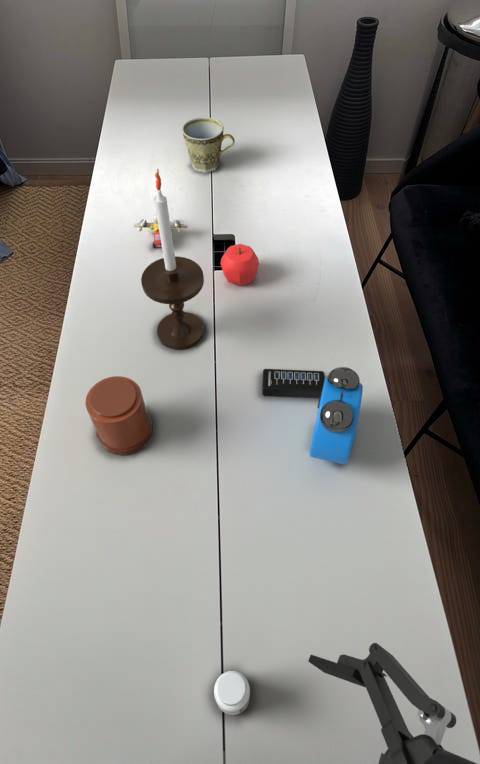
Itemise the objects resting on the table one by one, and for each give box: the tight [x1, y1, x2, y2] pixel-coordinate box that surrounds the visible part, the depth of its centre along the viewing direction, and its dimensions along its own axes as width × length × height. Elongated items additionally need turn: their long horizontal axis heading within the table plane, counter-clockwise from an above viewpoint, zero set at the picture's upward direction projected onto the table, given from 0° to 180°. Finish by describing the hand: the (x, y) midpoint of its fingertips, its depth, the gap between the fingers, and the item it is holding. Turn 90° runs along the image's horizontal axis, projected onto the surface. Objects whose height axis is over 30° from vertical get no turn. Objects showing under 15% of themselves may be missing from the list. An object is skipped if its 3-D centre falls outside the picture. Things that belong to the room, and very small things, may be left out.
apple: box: [220, 243, 260, 286], centre depth 112 cm, size 8×8×8 cm
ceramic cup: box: [181, 116, 236, 174], centre depth 135 cm, size 13×10×10 cm
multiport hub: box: [261, 368, 326, 399], centre depth 98 cm, size 4×11×2 cm, turn 86°
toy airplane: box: [133, 214, 188, 249], centre depth 121 cm, size 9×9×6 cm
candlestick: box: [140, 168, 205, 351], centre depth 93 cm, size 11×11×35 cm
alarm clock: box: [309, 366, 364, 465], centre depth 86 cm, size 13×6×15 cm, turn 165°
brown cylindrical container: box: [85, 375, 154, 456], centre depth 90 cm, size 9×9×11 cm
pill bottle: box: [213, 670, 251, 716], centre depth 68 cm, size 4×4×8 cm
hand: (291, 730), depth 56 cm, fingers open, 13 cm apart
